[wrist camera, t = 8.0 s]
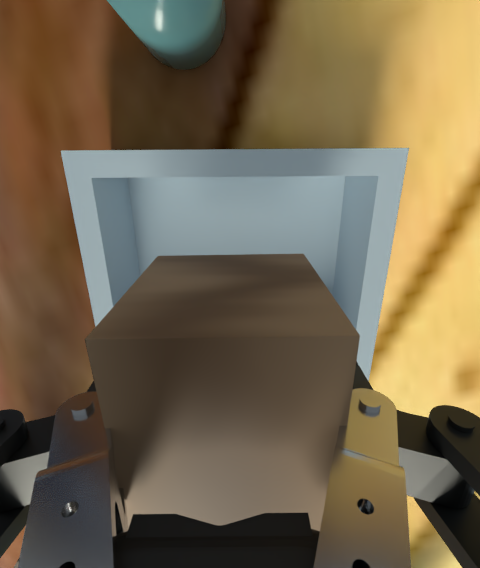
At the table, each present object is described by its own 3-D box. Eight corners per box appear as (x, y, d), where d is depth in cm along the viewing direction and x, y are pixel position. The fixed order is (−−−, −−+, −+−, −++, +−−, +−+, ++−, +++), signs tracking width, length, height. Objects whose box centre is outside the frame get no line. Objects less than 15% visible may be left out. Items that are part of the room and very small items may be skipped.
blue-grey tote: (362, 151, 20) (408, 147, 14) (338, 341, 25) (366, 393, 20) (110, 153, 20) (60, 150, 15) (138, 342, 25) (108, 394, 20)
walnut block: (303, 253, 12) (360, 335, 6) (294, 401, 14) (329, 553, 9) (157, 255, 12) (84, 339, 6) (174, 403, 14) (133, 555, 9)
